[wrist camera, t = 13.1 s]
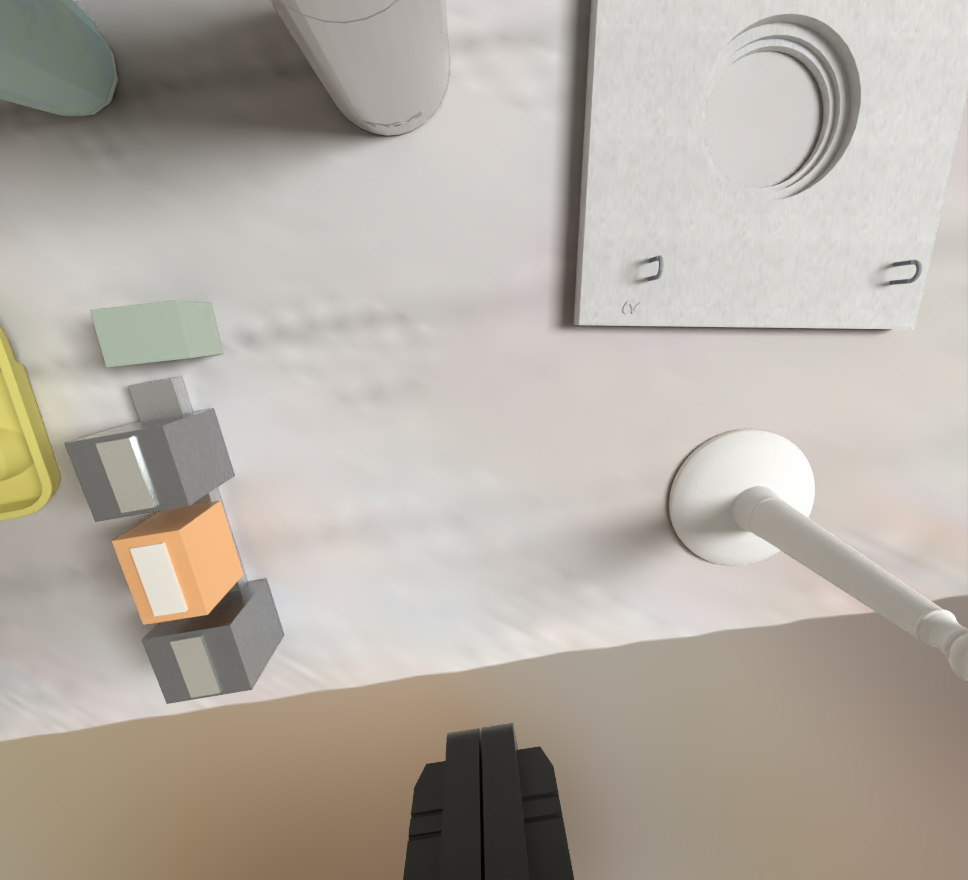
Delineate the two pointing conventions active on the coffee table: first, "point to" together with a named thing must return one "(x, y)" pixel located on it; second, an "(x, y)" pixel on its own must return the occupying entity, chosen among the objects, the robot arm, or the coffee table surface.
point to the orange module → (179, 562)
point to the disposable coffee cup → (54, 58)
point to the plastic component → (22, 443)
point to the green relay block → (156, 332)
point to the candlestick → (790, 530)
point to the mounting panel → (777, 209)
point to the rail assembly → (166, 485)
